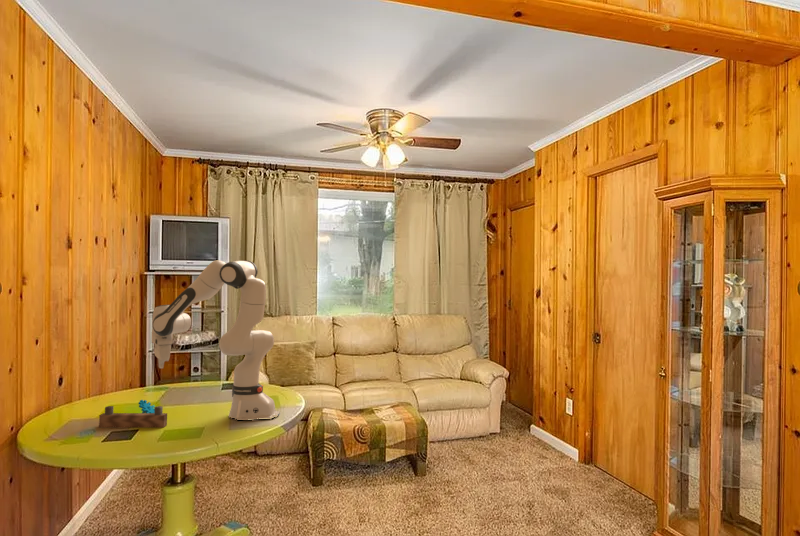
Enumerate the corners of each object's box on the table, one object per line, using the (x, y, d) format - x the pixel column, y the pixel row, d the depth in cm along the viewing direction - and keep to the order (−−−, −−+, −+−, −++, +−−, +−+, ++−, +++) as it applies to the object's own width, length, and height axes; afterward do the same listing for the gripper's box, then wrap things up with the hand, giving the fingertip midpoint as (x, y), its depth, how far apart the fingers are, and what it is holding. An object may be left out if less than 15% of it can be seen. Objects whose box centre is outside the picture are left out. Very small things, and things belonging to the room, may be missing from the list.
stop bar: (166, 425, 197) (167, 406, 197) (163, 427, 194) (164, 408, 194) (103, 425, 195) (103, 406, 195) (98, 427, 192) (99, 408, 192)
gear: (151, 416, 202) (137, 399, 203) (140, 426, 202) (126, 409, 203) (163, 413, 213) (149, 397, 214) (153, 422, 213) (139, 406, 213)
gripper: (151, 336, 227) (150, 364, 226) (158, 341, 210) (156, 372, 210) (165, 335, 230) (164, 363, 230) (173, 341, 214) (172, 371, 213)
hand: (161, 367), depth 220 cm, fingers closed
